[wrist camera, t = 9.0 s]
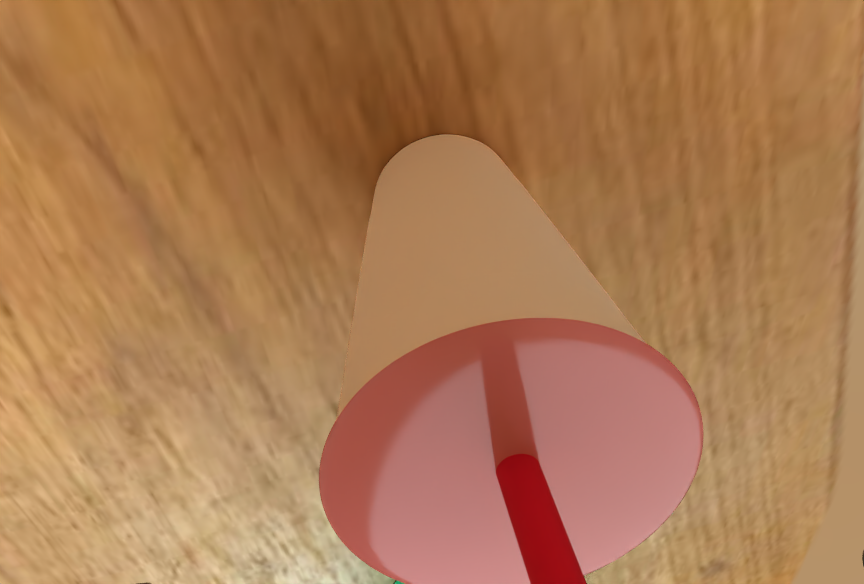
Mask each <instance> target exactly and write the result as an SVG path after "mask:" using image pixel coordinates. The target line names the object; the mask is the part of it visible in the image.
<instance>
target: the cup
mask: <svg viewBox="0 0 864 584" xmlns="http://www.w3.org/2000/svg"><path fill="white" fill-rule="evenodd" d="M702 447H703V422H702V416H701V412H700V408H699V405H698V402H697V399H696V397H695V395H694V393H693V391H692V389H691V387H690V385H689V384H688V382H687V381H686V379H685V378H684V376H683V375H682V374H681V373H680V371H679V370H678V369H677V368H676V367H675V366H674V365H673V364H672V363H671V362H670V361H669V360H668V359H667V358H666V357H665V356H663V355H662V354H661V353H659V352H658V351H657V350H655V349H654V348H652V347H651V346H649V345H648V344H646V343H645V341H644V340H643V339H642V337H641V336H640V335H639V334H638V332H637V331H636V330H635V329H634V327H633V326H632V325H631V323H630V322H629V321H628V320H627V319H626V317H625V316H624V314H623V313H622V312H621V310H620V309H619V308H618V306H617V305H616V304H615V303H614V301H613V300H612V299H611V297H610V296H609V295H608V293H607V292H606V291H605V290H604V288H603V287H602V286H601V284H600V283H599V282H598V281H597V279H596V278H595V277H594V275H593V274H592V273H591V272H590V270H589V269H588V268H587V266H586V265H585V264H584V263H583V261H582V260H581V259H580V257H579V256H578V255H577V254H576V252H575V251H574V250H573V248H572V247H571V246H570V245H569V243H568V242H567V241H566V239H565V238H564V237H563V236H562V234H561V233H560V232H559V231H558V229H557V228H556V227H555V225H554V224H553V223H552V222H551V220H550V219H549V218H548V216H547V215H546V214H545V213H544V211H543V210H542V209H541V208H540V206H539V205H538V204H537V202H536V201H535V200H534V199H533V197H532V196H531V195H530V194H529V192H528V191H527V190H526V188H525V187H524V186H523V185H522V183H521V182H520V181H519V180H518V179H517V178H516V177H515V176H514V174H513V173H512V172H511V171H510V169H509V168H508V167H507V165H506V164H505V163H504V162H503V161H502V159H501V158H500V157H499V156H498V155H497V154H496V153H495V152H494V151H493V150H492V149H490V148H489V147H488V146H486V145H485V144H483V143H481V142H479V141H477V140H475V139H472V138H469V137H465V136H460V135H451V134H444V135H435V136H430V137H426V138H423V139H420V140H417V141H415V142H413V143H411V144H409V145H408V146H406V147H405V148H403V149H402V150H400V151H399V152H398V153H397V154H396V155H395V156H394V157H393V158H392V159H391V160H390V161H389V162H388V163H387V165H386V166H385V167H384V169H383V171H382V172H381V174H380V176H379V179H378V181H377V184H376V188H375V193H374V198H373V204H372V210H371V215H370V219H369V224H368V229H367V235H366V241H365V247H364V253H363V259H362V265H361V271H360V277H359V283H358V289H357V295H356V301H355V308H354V314H353V320H352V326H351V332H350V338H349V344H348V351H347V357H346V363H345V370H344V376H343V383H342V390H341V395H340V401H339V407H338V413H337V419H336V421H335V423H334V425H333V427H332V429H331V431H330V433H329V435H328V438H327V440H326V443H325V446H324V449H323V453H322V457H321V462H320V470H319V488H320V495H321V500H322V504H323V508H324V511H325V513H326V516H327V518H328V520H329V522H330V524H331V526H332V528H333V529H334V531H335V533H336V534H337V535H338V537H339V538H340V539H341V541H342V542H343V543H344V544H345V545H346V546H347V548H348V549H349V550H350V551H351V552H353V553H354V554H355V555H356V556H357V557H358V558H359V559H361V560H362V561H363V562H365V563H366V564H368V565H369V566H370V567H372V568H374V569H375V570H377V571H379V572H380V573H382V574H384V575H386V576H388V577H390V578H393V579H395V580H397V581H400V582H402V583H405V584H587V583H586V581H585V578H584V575H587V574H589V573H591V572H594V571H596V570H598V569H600V568H602V567H604V566H606V565H608V564H610V563H612V562H613V561H615V560H617V559H618V558H620V557H622V556H623V555H625V554H626V553H628V552H630V551H631V550H632V549H634V548H635V547H637V546H638V545H639V544H641V543H642V542H643V541H644V540H646V539H647V538H648V537H649V536H650V535H652V534H653V533H654V532H655V531H656V530H657V529H658V528H659V527H660V526H661V525H662V524H663V523H664V522H665V521H666V520H667V519H668V518H669V517H670V515H671V514H672V513H673V512H674V510H675V509H676V508H677V507H678V505H679V504H680V502H681V501H682V499H683V498H684V496H685V495H686V493H687V491H688V489H689V488H690V486H691V484H692V481H693V479H694V477H695V474H696V472H697V469H698V466H699V462H700V458H701V454H702Z"/></svg>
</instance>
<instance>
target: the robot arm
mask: <svg viewBox="0 0 864 584" xmlns="http://www.w3.org/2000/svg"><path fill="white" fill-rule="evenodd" d="M862 559H863V566H864V551H863V557H862ZM138 584H151V583H138Z"/></svg>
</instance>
